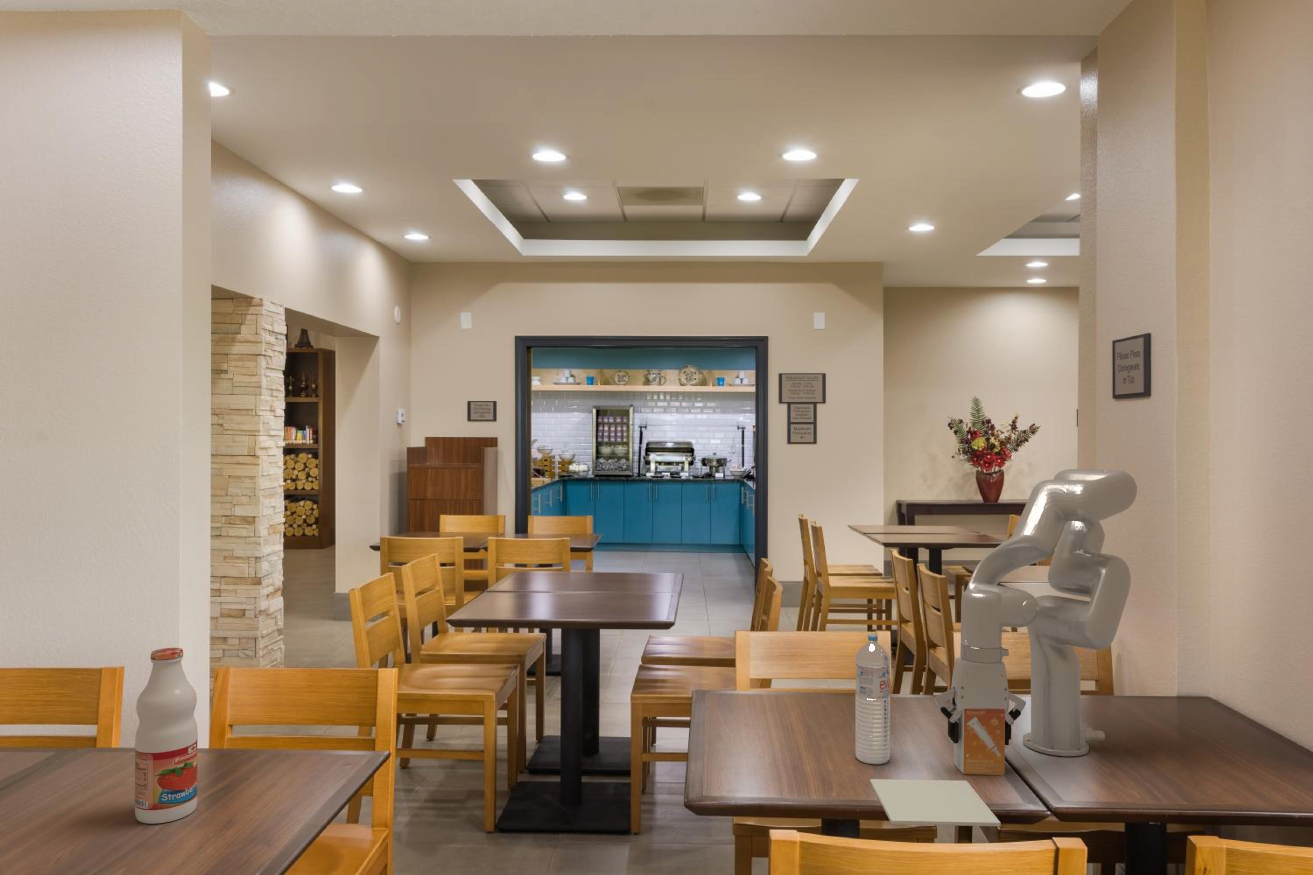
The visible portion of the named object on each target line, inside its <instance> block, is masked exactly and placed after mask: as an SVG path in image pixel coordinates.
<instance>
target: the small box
mask: <svg viewBox="0 0 1313 875" xmlns="http://www.w3.org/2000/svg"><path fill="white" fill-rule="evenodd" d="M957 722H958V724H959V742H958V743H954V742H953V764H954V765H955V766H956V767H957V769H959V771H960V773H962V775H985V776H987V775H989V776H1005V772H1006V771H1005V770H1006V769H1005V767H1006V766H1005V763H1006V762H1005V761H1006V759H1005V758H1006V757H1005V756H1006V752H1005V751H1006V749H1005V748H1006V745H1005V708H964V710H963V713H962V715H961V716H960V717H959V718H958V719H957Z"/></svg>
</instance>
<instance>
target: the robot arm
mask: <svg viewBox="0 0 1313 875" xmlns="http://www.w3.org/2000/svg"><path fill="white" fill-rule="evenodd" d="M1137 493H1138V486H1137V483H1136V480H1135V478H1134V477H1133V476H1132V475H1131V474H1130V473H1129V472H1126V471H1124V470H1119V469H1093V468H1071V469H1070V468H1069V469H1063V470H1060V471H1059V472H1058V473H1056V474H1055V475H1054V477H1053V479H1045V480H1041V481H1039V482H1038V483H1036V484H1035V486H1033V489H1032V490H1031V492H1030V495H1029V496H1028V499H1027V502H1026V503H1025V506H1024V507H1023V510H1022V513H1021V515H1020V517H1019V519H1018V522H1017V524H1016V525H1015V528H1014V531H1013V534H1012V535H1011V536H1010V537H1009V538H1008V539H1006V540H1005V541H1004V542H1002V543H1000V544H999V545H998V546H996V547H995V548H993V550H991V551H990V552H989V553H988V554H986V555H985V557H983V558H982V559H981V560H980V561H979V563H978V564H977V565H976V566H975V568H974V570H973V572H972V575H971V576H970V579H969V581H968V584H967V587H966V589H965V591H963V593H962V594H961V600H960V604H961V606H960V611H961V612H960V651H959V652H960V655H959V657H957V658H955V661H954V665H953V672H952V677H951V687H950V689H948V690H946V691H944V692H942V693H940V694H937V695H935V697H934V702H935V704H936V706H937V707H938V709H939V711H940V712H941V714H943V715H944V717H945V718H946V719H947V736H948V738H950V740H951V741H952V742H953V744H954V743H958V742H959V724H958V722H957V719H958V718H959V717H960V716H961V715H962V713H963V710H964V708H1005V746H1010V740H1012V725H1014V724H1015V721H1016V720H1017V719H1019V717H1020V716H1021V715H1022V712H1023V711H1024V709H1025V707H1026V705H1027V702H1026V701H1025V700H1024V699H1023V698H1021V697H1019V696H1018V695H1015V694H1013V693H1012V692H1010V691H1009V683H1008V675H1007V670H1006V664H1005V662H1004V661H1003V658H1004V657H1008V656H1009V654H1010V651H1009V649H1008V648H1003V646H1002V644H1003V643H1002V640H1003V639H1002V636H1003V635H1002V634H1003V633H1002V632H1003V627H1005V628H1006V627H1007V628H1017V629H1018V628H1019V629H1020V628H1026V629H1027V634H1028V640H1029V647H1030V732H1028V733H1025V734H1024V735H1023V736H1022V743H1023V745H1025V747H1027V748H1029V749H1030V750H1033V751H1036V752H1038V753H1042V754H1046V755H1050V756H1058V757H1079V756H1084V755H1086V754H1087V753H1088V752H1089V743H1087V742H1090V740H1091V741H1093V740H1094V741H1105V740H1106V735H1105V732H1104V730H1093V729H1092V728H1093V727H1092V728H1091V727H1083V726H1081V662H1080V659H1079V657H1078V654H1077V652H1076V651H1075V649H1074V647H1077V648H1081V649H1085V650H1086V649H1087V650H1092V651H1102V650H1106V649H1108V648H1109V647H1110V646H1111V645H1112V643H1113V642H1114V639H1115V637H1116V635H1117V632H1118V629H1119V626H1120V623H1121V620H1122V616H1123V612H1124V609H1125V607H1126V604H1127V600H1128V596H1129V593H1130V590H1131V583H1132V582H1131V579H1132V578H1131V571H1130V568H1129V566H1128V563H1127V562H1126V561H1125V560H1124V559H1122V558H1121V557H1119V556H1116V555H1113V554H1109V553H1102V549H1103V546H1104V542H1105V531H1104V528H1103V526H1102V524H1101V522H1100V521H1103V520H1106V519H1108V518H1110V517H1111V518H1112V517H1114V516H1116V515H1118V514H1121V513H1123V512H1124V511H1127V510H1128V509H1129V508H1130V507H1131V506H1132V505H1133V504H1134V502H1135V500H1136V498H1137V495H1138V494H1137ZM1051 557H1052V559H1051V561H1050V566H1049V568H1048V574H1047V581H1048V583H1049V586H1050V587H1051V589H1053V590H1055V591H1057V592H1060V593H1062V594H1067V595H1070V596H1077V597H1083V598H1088V599H1090V600H1082V599H1077V598H1072V597H1065V596H1059V595H1052V594H1044V595H1039V596H1036V597H1035V596H1034V595H1032V594H1031V592H1028V591H1027V590H1023V589H1018V588H1015V587H1008V586H1005V585H1004V586H1003V585H998V584H999V583H1000V581H1001V580H1002V579H1003V578H1004V577H1005V576H1007V575H1008V574H1010V573H1012V572H1013V571H1015V570H1017V569H1018V570H1019V569H1020V568H1023V567H1027V566H1031V565H1034V564H1036V563H1039V562H1042V561H1046V560H1047V559H1050V558H1051ZM949 700H950V705H951V707H950V709H948V708H947V707H946V704H945V702H946V701H947V702H948V701H949ZM1010 701H1011V702H1013V703H1014V707H1013V708H1012V709H1011V710H1009V707H1010V704H1009V703H1010Z"/></svg>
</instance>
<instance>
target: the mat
mask: <svg viewBox="0 0 1313 875" xmlns="http://www.w3.org/2000/svg"><path fill="white" fill-rule="evenodd" d="M870 783H871V784H870ZM869 784H870V785H871V787H872V790H873V791H874V794H875V795H876V797H877V799H878V801H879V802H880V804H881V806H882V808H883V810H884V812H885V814H886V816H887V817H888V820H889V822H890V823H891V825H902V826H903V825H909V826H912V825H913V826H917V825H918V826H921V825H922V826H962V827H966V826H968V827H1001V826H1002V825H1001V824H1002V823H1001V821H1000V820H999V819H998V817H997V816H996V815H995V814H994V813H993V811H991V809H990V807H988V805H987V804H986V803H985V801H984V800H983V799H982V798H981V797H980V795H979V794H978V793H977V792H976V790H975V789H974V788H973V786H971V784H970V783H969V782H968V780H952V779H951V780H950V779H949V780H948V779H946V780H939V779H937V780H935V779H893V778H892V779H890V778H889V779H886V778H885V779H883V778H879V779H877V778H870V779H869Z"/></svg>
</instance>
